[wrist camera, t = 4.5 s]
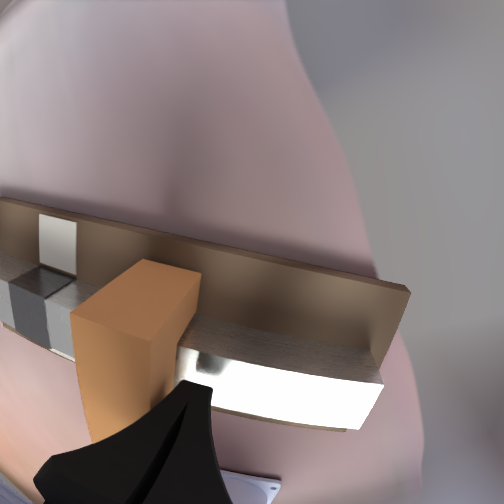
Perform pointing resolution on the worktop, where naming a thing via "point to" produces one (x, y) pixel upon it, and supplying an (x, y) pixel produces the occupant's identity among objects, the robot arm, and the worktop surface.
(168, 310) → the collar
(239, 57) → the worktop surface
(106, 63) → the worktop surface
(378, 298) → the stand
